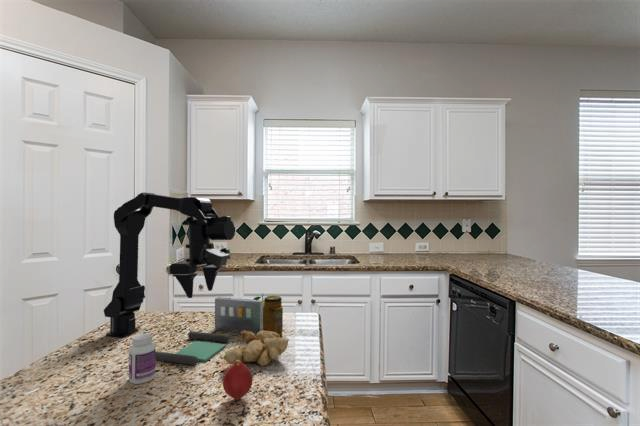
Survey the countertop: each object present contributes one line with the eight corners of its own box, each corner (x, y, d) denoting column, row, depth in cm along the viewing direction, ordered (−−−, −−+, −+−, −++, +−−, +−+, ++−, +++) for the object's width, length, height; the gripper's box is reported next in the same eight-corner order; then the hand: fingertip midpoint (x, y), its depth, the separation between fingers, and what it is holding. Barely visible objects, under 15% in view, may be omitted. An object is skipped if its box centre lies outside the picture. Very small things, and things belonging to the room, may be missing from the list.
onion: (226, 392, 68) (226, 353, 68) (253, 390, 68) (254, 353, 68) (219, 408, 62) (220, 366, 62) (250, 407, 62) (250, 365, 63)
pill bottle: (160, 373, 76) (160, 332, 76) (146, 385, 70) (146, 341, 70) (138, 372, 76) (139, 331, 76) (122, 384, 71) (123, 340, 71)
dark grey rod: (188, 339, 97) (188, 332, 97) (192, 336, 99) (192, 330, 99) (227, 343, 94) (227, 336, 94) (230, 341, 95) (230, 334, 96)
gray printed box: (213, 330, 104) (213, 299, 104) (218, 327, 107) (218, 297, 107) (258, 335, 100) (258, 302, 100) (262, 331, 103) (262, 300, 103)
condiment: (279, 331, 104) (280, 293, 104) (289, 340, 96) (289, 300, 97) (257, 334, 101) (257, 296, 101) (265, 344, 93) (265, 302, 93)
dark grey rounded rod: (150, 360, 82) (150, 352, 82) (156, 357, 84) (156, 349, 84) (194, 366, 79) (195, 358, 79) (199, 363, 81) (199, 355, 81)
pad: (171, 357, 84) (171, 355, 84) (195, 343, 94) (195, 341, 94) (205, 362, 82) (205, 359, 82) (226, 346, 91) (226, 344, 91)
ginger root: (293, 340, 93) (291, 315, 91) (286, 381, 77) (284, 351, 76) (239, 341, 93) (237, 316, 92) (222, 382, 78) (218, 353, 76)
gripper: (203, 242, 83) (204, 303, 83) (240, 238, 101) (241, 288, 100) (167, 243, 86) (168, 301, 86) (209, 238, 104) (210, 287, 104)
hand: (200, 294), depth 94 cm, fingers open, 9 cm apart
